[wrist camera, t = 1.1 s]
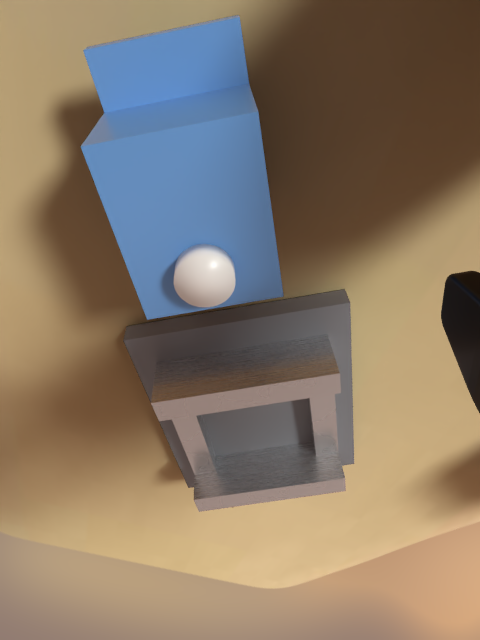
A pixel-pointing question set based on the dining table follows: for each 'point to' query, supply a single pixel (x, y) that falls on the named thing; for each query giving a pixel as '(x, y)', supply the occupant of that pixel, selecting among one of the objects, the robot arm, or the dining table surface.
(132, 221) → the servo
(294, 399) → the grey shallow tray
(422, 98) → the dining table surface
